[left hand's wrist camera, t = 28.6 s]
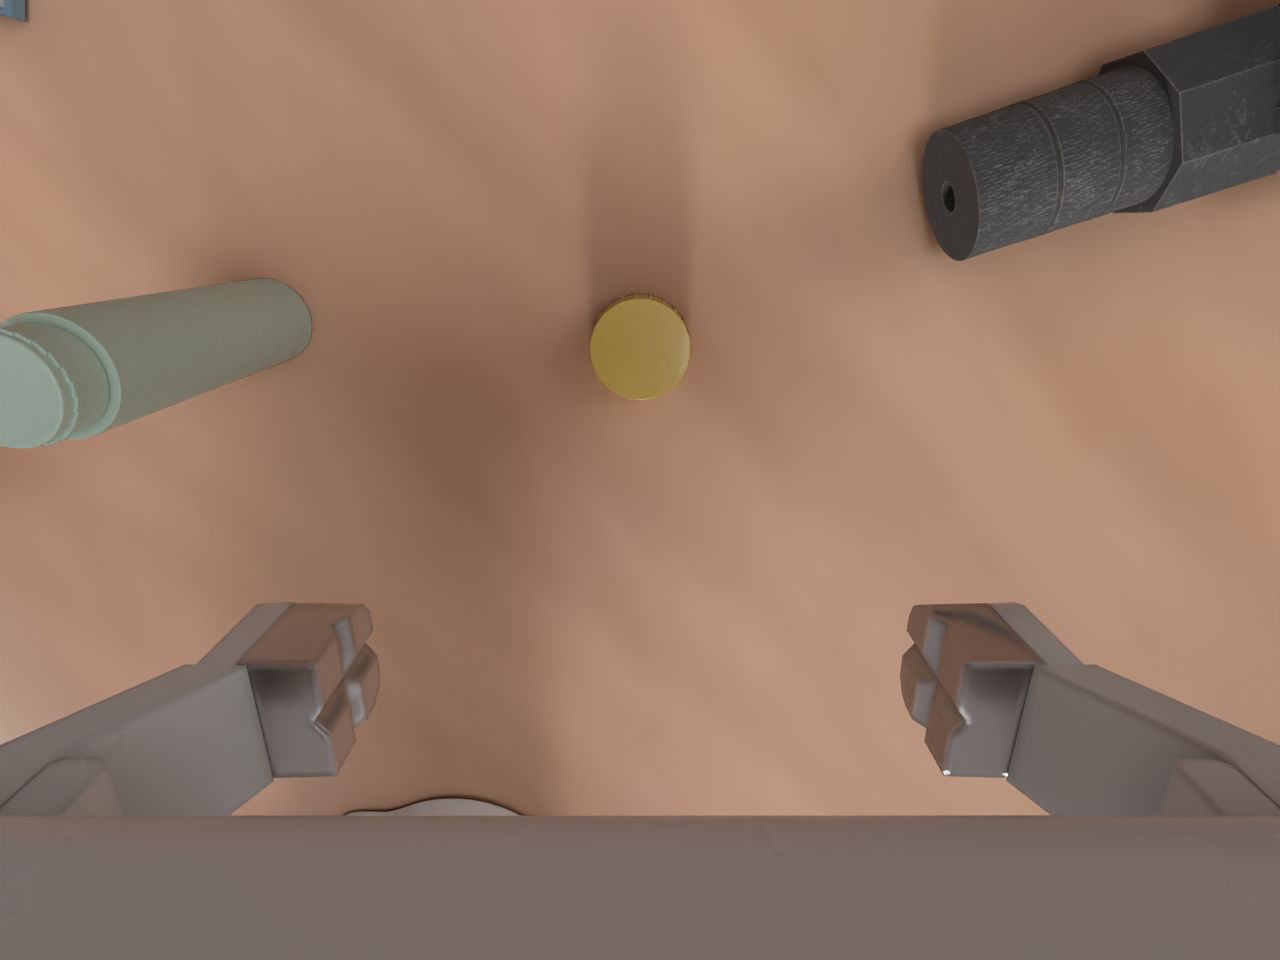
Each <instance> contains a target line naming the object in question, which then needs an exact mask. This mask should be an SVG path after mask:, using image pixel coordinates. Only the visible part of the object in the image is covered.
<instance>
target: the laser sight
mask: <svg viewBox="0 0 1280 960" xmlns="http://www.w3.org/2000/svg"><path fill="white" fill-rule="evenodd" d="M1278 170H1280V4H1278V5H1276V6H1273V7H1270V8H1267V9H1264V10H1261V11H1258V12H1255V13H1252V14H1249V15H1246V16H1244V17H1241V18H1238V19H1235V20H1232V21H1229V22H1226V23H1223V24H1220V25H1217V26H1214V27H1211V28H1209V29H1206V30H1203V31H1200V32H1197V33H1194V34H1191V35H1188V36H1185V37H1182V38H1179V39H1177V40H1174V41H1171V42H1168V43H1165V44H1162V45H1159V46H1156V47H1153V48H1150V49H1147V50H1144V51H1142V52H1139V53H1136V54H1133V55H1130V56H1127V57H1124V58H1121V59H1118V60H1115V61H1112V62H1109V63H1107V64H1104V65H1102V67H1101V69H1100V72H1099V74H1098V76H1096V77H1093V78H1090V79H1086V80H1083V81H1079V82H1076V83H1074V84H1071V85H1068V86H1065V87H1063V88H1060V89H1057V90H1055V91H1052V92H1049V93H1046V94H1043V95H1040V96H1037V97H1035V98H1032V99H1029V100H1025V101H1021V102H1018V103H1016V104H1012V105H1009V106H1007V107H1004V108H1001V109H999V110H996V111H993V112H990V113H987V114H985V115H982V116H979V117H976V118H972V119H969V120H967V121H964V122H961V123H958V124H955V125H952V126H950V127H946V128H942V129H939V130H936V131H935V132H933V133H932V134H931V136H930V137H929V139H928V141H927V144H926V146H925V150H924V155H923V162H922V188H923V196H924V202H925V207H926V212H927V216H928V219H929V222H930V225H931V228H932V231H933V233H934V235H935V237H936V239H937V241H938V243H939V245H940V246H941V248H942V249H943V251H944V252H945V253H946V254H947V255H948V256H949V257H950V258H952V259H954V260H957V261H963V260H966V259H968V258H971V257H974V256H977V255H979V254H983V253H986V252H989V251H992V250H995V249H998V248H1001V247H1004V246H1007V245H1011V244H1014V243H1017V242H1020V241H1024V240H1027V239H1031V238H1034V237H1037V236H1041V235H1044V234H1046V233H1049V232H1052V231H1055V230H1058V229H1061V228H1064V227H1067V226H1070V225H1073V224H1077V223H1080V222H1084V221H1087V220H1091V219H1093V218H1097V217H1099V216H1102V215H1105V214H1108V213H1111V212H1113V213H1138V212H1155V211H1158V210H1161V209H1164V208H1167V207H1170V206H1174V205H1177V204H1180V203H1183V202H1186V201H1189V200H1192V199H1196V198H1199V197H1202V196H1205V195H1208V194H1211V193H1214V192H1218V191H1221V190H1224V189H1227V188H1230V187H1233V186H1236V185H1240V184H1243V183H1246V182H1249V181H1252V180H1255V179H1258V178H1262V177H1265V176H1268V175H1271V174H1274V173H1277V172H1278Z"/></svg>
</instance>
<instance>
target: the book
mask: <svg viewBox="0 0 1280 960" xmlns="http://www.w3.org/2000/svg"><path fill="white" fill-rule="evenodd" d="M0 14H2V15H5V16H8V17H11V18H15V19H18V20H21V21H24V22H25V0H0Z"/></svg>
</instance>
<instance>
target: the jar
mask: <svg viewBox="0 0 1280 960" xmlns="http://www.w3.org/2000/svg"><path fill="white" fill-rule="evenodd" d="M311 332H312V322H311V317H310V313H309V311H308V308H307V306H306V305H305V303H304V301H303V300H302V299H301V297H300V296H299V295H298V294H297V293H296V292H295V291H294V290H293V289H291V288H290V287H289V286H287V285H285V284H283V283H281V282H279V281H276V280H273V279H266V278H259V279H252V280H245V281H238V282H231V283H224V284H218V285H211V286H204V287H197V288H190V289H184V290H177V291H170V292H163V293H156V294H150V295H143V296H136V297H129V298H122V299H116V300H109V301H102V302H95V303H88V304H82V305H75V306H68V307H61V308H54V309H48V310H41V311H34V312H27V313H22V314H18V315H16V316H13V317H11V318H9V319H8V320H6V321H5V322H3V323H2V324H1V325H0V445H1V446H5V447H10V448H32V447H36V446H48V445H51V444H55V443H59V442H61V441H62V440H64V439H83V438H89V437H92V436H94V435H97V434H100V433H102V432H105V431H107V430H110V429H113V428H115V427H118V426H120V425H123V424H125V423H128V422H130V421H133V420H136V419H138V418H141V417H143V416H146V415H148V414H151V413H154V412H156V411H159V410H161V409H164V408H166V407H169V406H171V405H174V404H177V403H179V402H182V401H184V400H187V399H189V398H192V397H194V396H197V395H200V394H202V393H205V392H207V391H210V390H212V389H215V388H218V387H220V386H223V385H225V384H228V383H230V382H233V381H235V380H238V379H241V378H243V377H246V376H248V375H251V374H253V373H256V372H259V371H261V370H264V369H266V368H269V367H271V366H274V365H276V364H279V363H282V362H284V361H287V360H289V359H292V358H294V357H296V356H297V355H299V354H300V353H301V352H302V351H303V350H304V349H305V348H306V346H307V345H308V343H309V340H310V337H311Z"/></svg>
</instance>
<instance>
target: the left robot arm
mask: <svg viewBox="0 0 1280 960" xmlns="http://www.w3.org/2000/svg"><path fill="white" fill-rule="evenodd" d="M372 632H373V626H372V621H371V616H370V611H369V610H368V609H367V607H366V606H365V605H364V604H326V603H294V602H288V603H263V604H257V605H256V606H255V607H254V608H253V609H252V610H251V611H250V612H249V613H248V614H247V615H246V616H245V617H244V618H243V619H242V620H241V621H240V622H239V623H238V624H237V625H236V626H235V627H234V628H233V629H232V630H231V631H230V632H229V633H228V634H227V635H226V636H225V637H224V638H223V639H222V640H220V641H219V642H218V643H217V644H216V645H215V646H214V647H213V648H212V649H211V650H210V651H209V652H208V653H207V654H206V655H205V656H204V657H203V658H202V659H201V660H200V661H199V662H198V663H197V664H196V665H183V666H181V667H178V668H176V669H174V670H172V671H169V672H167V673H165V674H162V675H160V676H158V677H156V678H153V679H151V680H149V681H146V682H144V683H142V684H140V685H137V686H135V687H133V688H130V689H128V690H126V691H123V692H121V693H119V694H117V695H114V696H112V697H110V698H107V699H105V700H103V701H101V702H98V703H96V704H94V705H91V706H89V707H87V708H85V709H82V710H80V711H78V712H75V713H73V714H71V715H68V716H66V717H64V718H62V719H59V720H57V721H55V722H52V723H50V724H48V725H46V726H43V727H41V728H39V729H36V730H34V731H32V732H29V733H27V734H25V735H23V736H20V737H18V738H16V739H13V740H11V741H9V742H7V743H4V744H2V745H0V960H1280V745H1278V744H1275V743H1273V742H1271V741H1268V740H1266V739H1264V738H1262V737H1259V736H1257V735H1255V734H1252V733H1250V732H1248V731H1246V730H1243V729H1241V728H1239V727H1236V726H1234V725H1232V724H1230V723H1227V722H1225V721H1223V720H1220V719H1218V718H1216V717H1214V716H1211V715H1209V714H1207V713H1204V712H1202V711H1200V710H1198V709H1195V708H1193V707H1191V706H1188V705H1186V704H1184V703H1182V702H1179V701H1177V700H1175V699H1172V698H1170V697H1168V696H1166V695H1163V694H1161V693H1159V692H1156V691H1154V690H1152V689H1150V688H1147V687H1145V686H1143V685H1140V684H1138V683H1136V682H1134V681H1131V680H1129V679H1127V678H1124V677H1122V676H1120V675H1118V674H1115V673H1113V672H1111V671H1108V670H1106V669H1104V668H1102V667H1099V666H1097V665H1084V664H1083V663H1082V662H1081V661H1080V660H1079V659H1078V658H1077V657H1076V656H1075V655H1074V654H1073V653H1072V652H1071V651H1070V650H1069V649H1068V648H1067V647H1066V646H1065V645H1064V644H1063V643H1062V642H1061V641H1060V640H1059V639H1058V638H1057V637H1056V636H1055V635H1054V634H1053V633H1052V632H1051V631H1049V630H1048V629H1047V628H1046V627H1045V626H1044V625H1043V624H1042V623H1041V622H1040V621H1039V620H1038V619H1037V618H1036V617H1035V616H1034V615H1033V614H1032V613H1031V612H1030V611H1029V610H1028V609H1027V608H1026V607H1025V606H1024V605H1022V604H1019V603H1016V602H1007V603H976V604H936V605H915V606H913V608H912V610H911V613H910V615H909V619H908V625H907V632H908V633H909V635H910V636H911V638H912V639H913V641H914V642H915V643H914V644H913V645H912V646H911V647H910V649H909V650H908V651H907V652H906V653H905V654H904V655H903V656H902V664H901V673H900V678H901V689H902V696H903V699H904V702H905V705H906V708H907V710H908V712H909V714H910V716H911V717H912V719H913V720H914V721H916V722H917V723H919V724H920V725H922V726H924V727H925V728H927V729H926V735H925V743H926V745H927V747H928V749H929V750H930V752H931V754H932V756H933V757H934V759H935V761H936V763H937V765H938V766H939V768H940V770H941V772H942V774H943V775H944V776H960V777H996V778H1007V780H1006V781H1008V782H1009V783H1010V784H1011V785H1013V786H1014V787H1015V788H1017V789H1018V790H1019V791H1020V792H1022V793H1023V794H1024V795H1026V796H1027V797H1028V798H1029V799H1031V800H1032V801H1033V802H1035V803H1036V804H1037V805H1038V806H1040V807H1041V808H1042V809H1044V810H1045V811H1046V812H1047V813H1049V814H1050V815H1051V816H520V815H518V814H516V813H514V812H512V811H510V810H508V809H505V808H503V807H500V806H497V805H494V804H490V803H486V802H482V801H477V800H470V799H457V798H446V799H435V800H428V801H423V802H419V803H416V804H412V805H409V806H406V807H403V808H400V809H397V810H393V811H388V812H372V811H365V812H353V813H349V814H346V815H345V816H229V815H230V814H231V813H233V812H234V811H235V810H237V809H238V808H239V807H240V806H242V805H243V804H244V803H246V802H247V801H248V800H250V799H251V798H252V797H253V796H255V795H256V794H257V793H259V792H260V791H261V790H262V789H264V788H265V787H266V786H268V785H269V784H270V783H271V782H273V778H283V777H319V776H337V774H338V772H339V770H340V768H341V767H342V765H343V763H344V761H345V759H346V758H347V756H348V754H349V752H350V750H351V749H352V747H353V745H354V743H355V735H354V729H353V728H355V727H356V726H358V725H360V724H361V723H363V722H364V721H366V720H367V719H368V717H369V716H370V714H371V712H372V710H373V708H374V706H375V702H376V698H377V694H378V689H379V671H380V670H379V663H378V656H377V655H376V654H375V653H374V652H373V651H372V650H371V649H370V647H369V646H368V645H367V644H366V643H365V642H366V641H367V639H368V638H369V636H370V635H371V633H372Z"/></svg>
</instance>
